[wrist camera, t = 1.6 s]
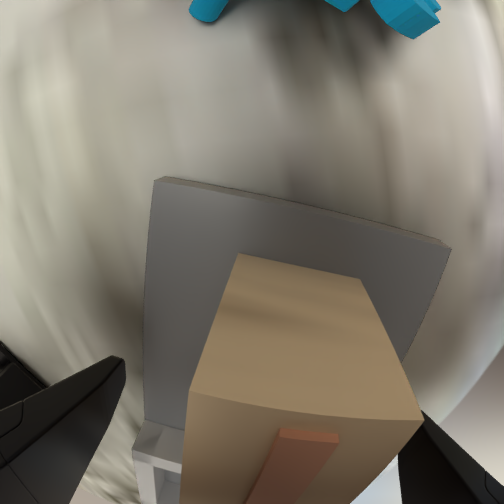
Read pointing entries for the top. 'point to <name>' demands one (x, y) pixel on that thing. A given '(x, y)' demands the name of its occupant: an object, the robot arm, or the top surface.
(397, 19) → the gear
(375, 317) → the cardboard box
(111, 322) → the top surface
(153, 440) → the gray plate
